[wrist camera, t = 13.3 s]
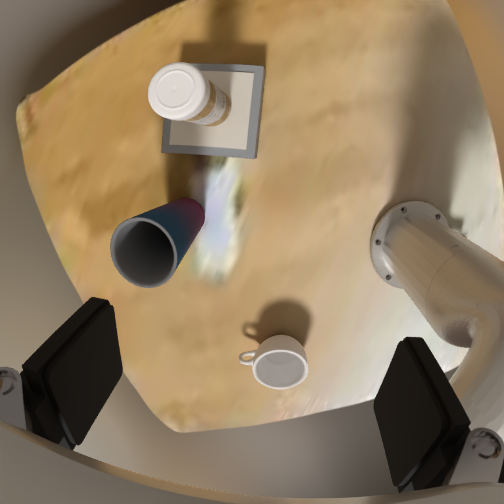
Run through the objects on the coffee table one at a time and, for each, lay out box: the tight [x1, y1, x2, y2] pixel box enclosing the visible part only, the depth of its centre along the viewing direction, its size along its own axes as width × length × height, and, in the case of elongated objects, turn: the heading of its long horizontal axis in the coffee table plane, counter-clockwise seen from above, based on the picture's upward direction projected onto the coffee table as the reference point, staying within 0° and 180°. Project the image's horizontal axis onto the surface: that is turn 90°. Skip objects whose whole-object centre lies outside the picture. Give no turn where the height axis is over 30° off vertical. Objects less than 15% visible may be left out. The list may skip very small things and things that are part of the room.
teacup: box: [239, 335, 308, 389], centre depth 45 cm, size 10×8×5 cm
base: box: [161, 63, 265, 159], centre depth 35 cm, size 11×11×4 cm
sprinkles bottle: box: [148, 62, 231, 127], centre depth 27 cm, size 5×5×13 cm
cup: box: [110, 198, 205, 288], centre depth 35 cm, size 7×7×15 cm
